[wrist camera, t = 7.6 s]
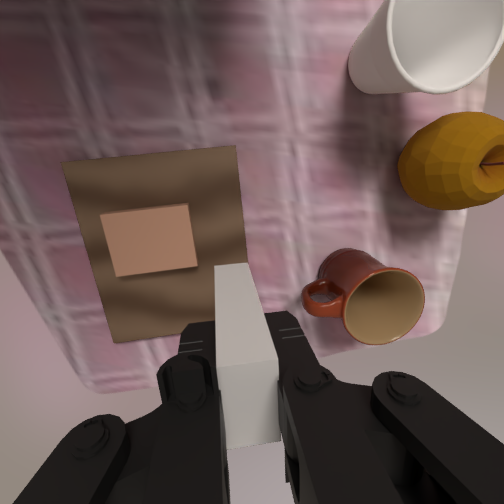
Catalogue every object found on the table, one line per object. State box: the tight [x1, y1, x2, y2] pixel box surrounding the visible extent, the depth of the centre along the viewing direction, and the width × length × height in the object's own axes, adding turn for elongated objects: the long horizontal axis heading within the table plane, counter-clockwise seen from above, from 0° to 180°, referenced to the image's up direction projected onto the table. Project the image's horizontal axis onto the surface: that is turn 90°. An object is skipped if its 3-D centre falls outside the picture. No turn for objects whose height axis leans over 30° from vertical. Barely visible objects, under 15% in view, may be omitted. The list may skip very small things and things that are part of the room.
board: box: [61, 145, 248, 343], centre depth 35 cm, size 22×18×1 cm
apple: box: [397, 112, 504, 210], centre depth 30 cm, size 10×10×12 cm
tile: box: [100, 203, 198, 277], centre depth 33 cm, size 7×2×9 cm
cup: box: [348, 0, 504, 94], centre depth 27 cm, size 10×10×11 cm
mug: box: [301, 248, 425, 345], centre depth 34 cm, size 12×9×10 cm
